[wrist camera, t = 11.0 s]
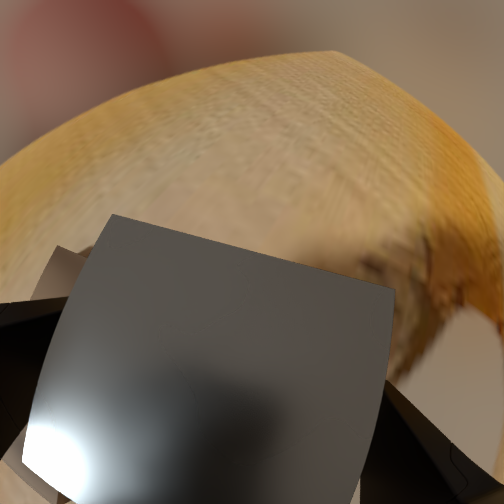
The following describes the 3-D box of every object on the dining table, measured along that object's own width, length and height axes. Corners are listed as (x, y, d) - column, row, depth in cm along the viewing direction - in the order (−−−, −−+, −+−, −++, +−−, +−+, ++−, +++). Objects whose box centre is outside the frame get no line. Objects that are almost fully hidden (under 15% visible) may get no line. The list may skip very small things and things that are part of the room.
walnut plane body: (70, 500, 9) (56, 507, 7) (7, 447, 10) (-9, 448, 8) (139, 286, 17) (128, 274, 16) (69, 257, 18) (57, 245, 16)
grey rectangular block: (258, 442, 13) (315, 570, 2) (176, 418, 13) (22, 461, 2) (281, 366, 15) (395, 289, 4) (201, 343, 16) (112, 214, 4)
